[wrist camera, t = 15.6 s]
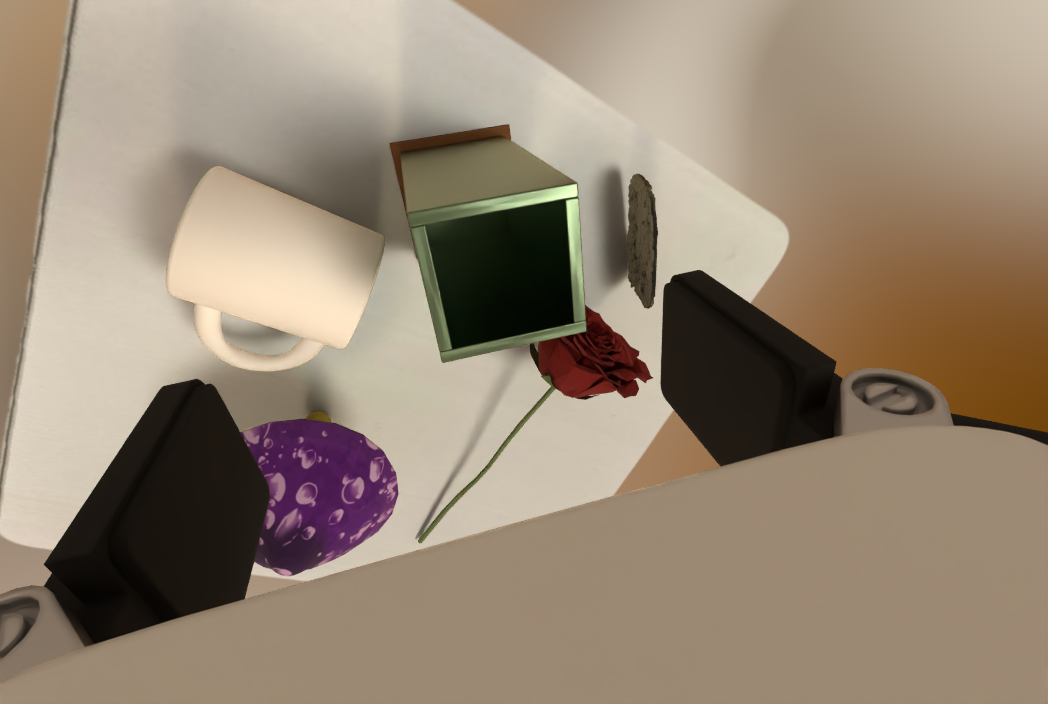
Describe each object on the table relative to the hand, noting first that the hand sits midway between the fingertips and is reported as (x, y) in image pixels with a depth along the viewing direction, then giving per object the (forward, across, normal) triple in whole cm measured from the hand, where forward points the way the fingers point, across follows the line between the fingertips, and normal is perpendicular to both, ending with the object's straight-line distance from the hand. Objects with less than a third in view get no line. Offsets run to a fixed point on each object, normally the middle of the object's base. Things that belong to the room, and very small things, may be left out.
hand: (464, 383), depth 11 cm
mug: (+28, +10, +6) cm, 30 cm away
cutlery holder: (+27, -3, +3) cm, 28 cm away
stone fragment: (+27, -15, +8) cm, 32 cm away
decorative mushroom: (+28, +12, +18) cm, 35 cm away
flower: (+27, -2, +24) cm, 36 cm away
